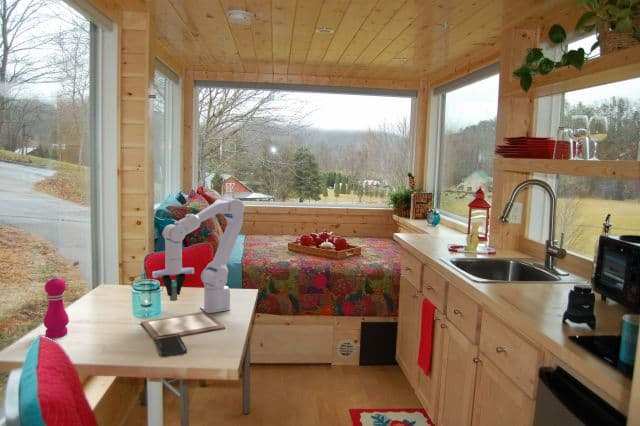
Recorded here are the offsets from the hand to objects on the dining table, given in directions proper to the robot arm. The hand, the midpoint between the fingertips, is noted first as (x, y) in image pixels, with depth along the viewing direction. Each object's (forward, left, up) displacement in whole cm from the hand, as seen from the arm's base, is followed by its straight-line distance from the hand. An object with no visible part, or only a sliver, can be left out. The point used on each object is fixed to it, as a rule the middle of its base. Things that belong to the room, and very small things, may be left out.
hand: (173, 294), depth 177 cm
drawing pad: (0, +9, -9) cm, 13 cm away
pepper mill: (+38, -2, -9) cm, 39 cm away
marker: (0, 0, -2) cm, 2 cm away
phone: (+9, +24, -9) cm, 27 cm away
